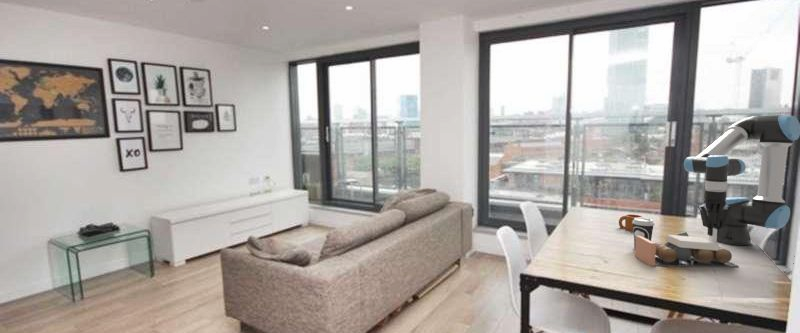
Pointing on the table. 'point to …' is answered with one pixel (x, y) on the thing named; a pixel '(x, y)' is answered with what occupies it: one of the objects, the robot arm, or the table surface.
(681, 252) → the roller
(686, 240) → the slab
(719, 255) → the roller
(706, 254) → the roller
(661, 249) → the roller
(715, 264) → the roller bed
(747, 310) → the table surface
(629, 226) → the mug
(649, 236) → the coffee cup
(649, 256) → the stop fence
